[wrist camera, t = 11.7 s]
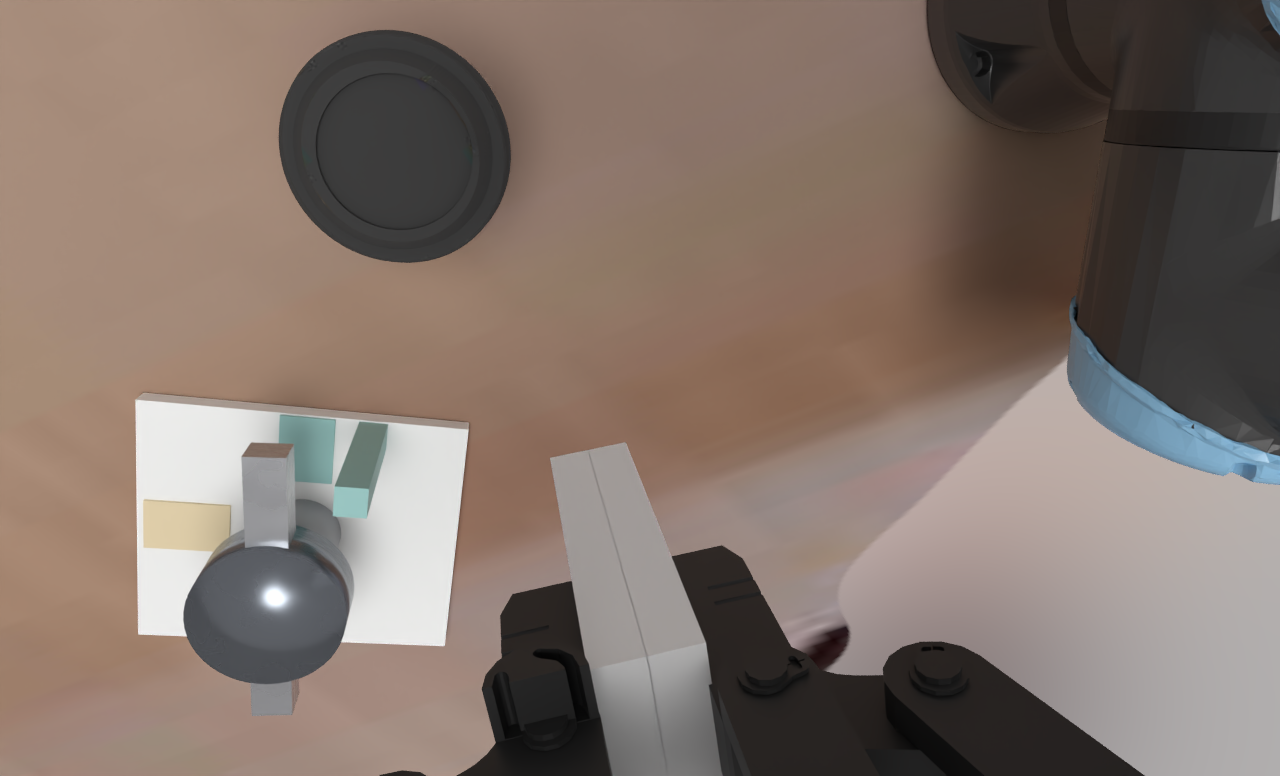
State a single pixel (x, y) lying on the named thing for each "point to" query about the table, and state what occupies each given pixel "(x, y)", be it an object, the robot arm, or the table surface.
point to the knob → (270, 590)
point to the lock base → (304, 505)
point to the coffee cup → (394, 146)
